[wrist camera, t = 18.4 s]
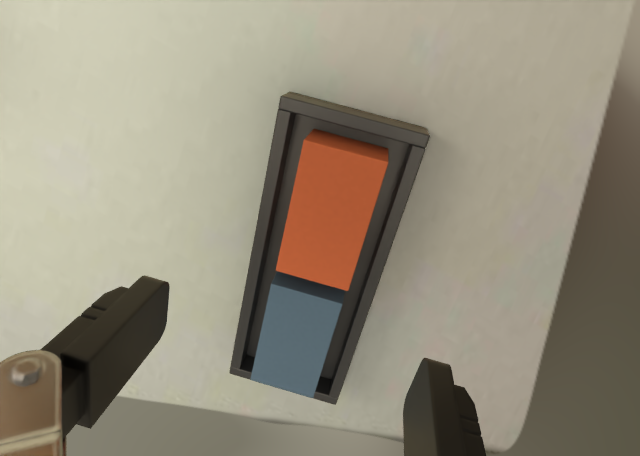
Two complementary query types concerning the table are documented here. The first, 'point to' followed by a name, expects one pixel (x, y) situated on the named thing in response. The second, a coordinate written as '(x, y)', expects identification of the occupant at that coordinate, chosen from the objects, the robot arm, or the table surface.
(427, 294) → the table surface
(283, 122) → the frame
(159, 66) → the table surface
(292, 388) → the seated pad
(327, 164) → the orange block
